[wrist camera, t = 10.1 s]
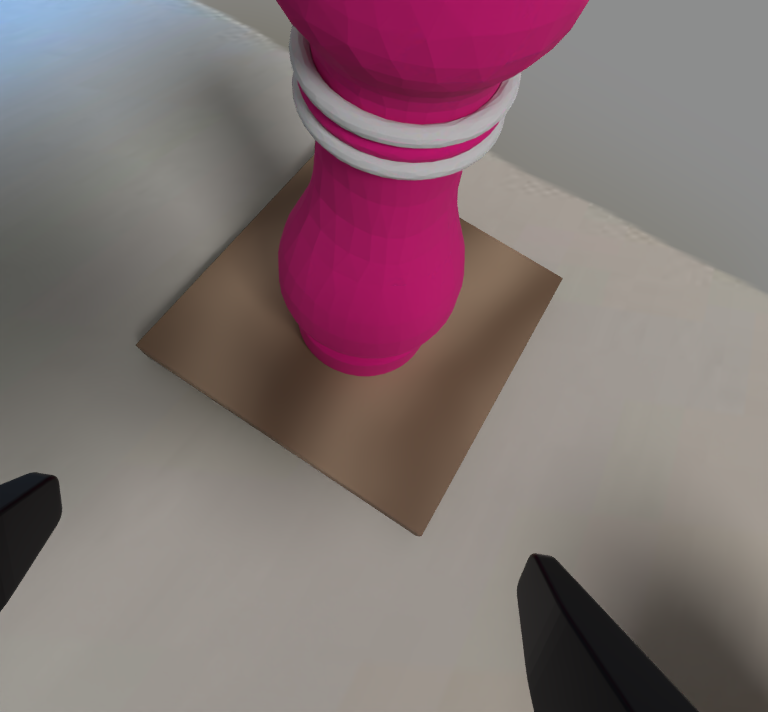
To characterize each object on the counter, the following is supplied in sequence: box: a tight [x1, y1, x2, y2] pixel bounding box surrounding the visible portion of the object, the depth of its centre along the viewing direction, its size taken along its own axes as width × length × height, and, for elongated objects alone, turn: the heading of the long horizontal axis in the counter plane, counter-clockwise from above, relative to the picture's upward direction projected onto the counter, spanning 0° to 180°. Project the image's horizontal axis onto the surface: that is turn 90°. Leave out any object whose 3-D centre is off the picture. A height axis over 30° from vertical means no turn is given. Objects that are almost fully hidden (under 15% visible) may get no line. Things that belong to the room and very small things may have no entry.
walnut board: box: [136, 155, 563, 536], centre depth 23 cm, size 15×15×1 cm
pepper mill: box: [276, 0, 589, 376], centre depth 13 cm, size 7×7×20 cm
